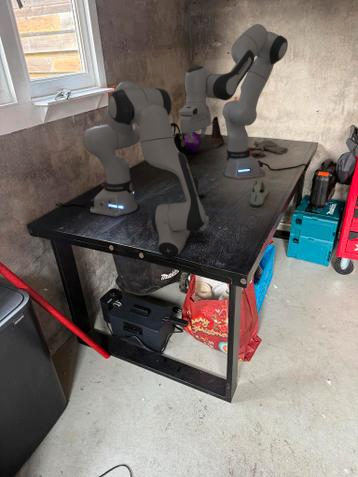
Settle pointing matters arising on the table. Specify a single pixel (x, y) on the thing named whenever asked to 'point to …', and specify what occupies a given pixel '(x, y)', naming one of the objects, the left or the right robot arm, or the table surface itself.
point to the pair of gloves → (268, 146)
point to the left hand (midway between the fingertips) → (187, 212)
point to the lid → (200, 194)
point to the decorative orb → (194, 145)
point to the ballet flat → (258, 193)
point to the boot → (216, 133)
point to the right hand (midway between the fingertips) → (197, 139)
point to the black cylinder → (196, 182)
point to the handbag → (179, 140)
